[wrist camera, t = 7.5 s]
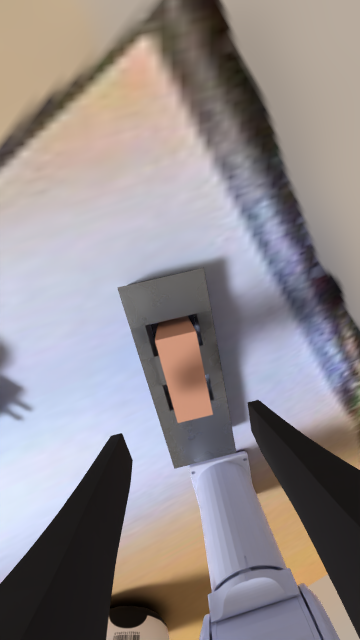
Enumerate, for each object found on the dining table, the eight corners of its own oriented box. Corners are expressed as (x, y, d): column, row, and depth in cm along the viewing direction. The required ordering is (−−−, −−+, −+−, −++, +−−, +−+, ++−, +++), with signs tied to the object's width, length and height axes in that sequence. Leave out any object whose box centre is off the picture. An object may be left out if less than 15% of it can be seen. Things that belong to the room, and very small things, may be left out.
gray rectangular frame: (226, 429, 22) (236, 452, 19) (173, 442, 21) (174, 468, 19) (197, 269, 16) (203, 267, 13) (126, 285, 16) (117, 287, 13)
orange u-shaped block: (200, 376, 19) (212, 414, 14) (174, 382, 19) (177, 423, 14) (186, 314, 17) (195, 331, 12) (158, 320, 17) (155, 340, 12)
